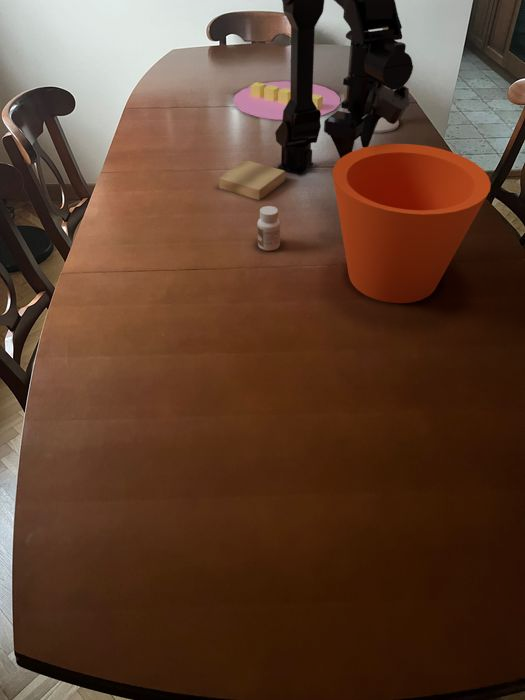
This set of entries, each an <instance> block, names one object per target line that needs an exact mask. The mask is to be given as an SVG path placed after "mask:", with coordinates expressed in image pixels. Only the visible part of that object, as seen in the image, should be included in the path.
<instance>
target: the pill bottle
mask: <svg viewBox="0 0 525 700" xmlns="http://www.w3.org/2000/svg"><path fill="white" fill-rule="evenodd" d="M280 245H281V221H280V219H279V210H278V208H277V207H275V206H272V205H266V206H262V207H261V208H260V209H259V218H258V219H257V246H258V248H259V249H261V250H263V251H267V252H268V251H275V250H277V249H279V248H280Z"/></svg>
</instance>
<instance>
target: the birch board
mask: <svg viewBox="0 0 525 700" xmlns="http://www.w3.org/2000/svg"><path fill="white" fill-rule="evenodd" d="M285 181H286V171H285V170H281V169H278V167H272V166H269V165H266V164H262V163H258V162H254V161H250V160H247V159H244V160H243V161H241V162H240V163H238V164H237V165H235V166H234V167H232V168H231V169H229V170H228V171H226V172H225V173H224V174H222V175H221V176H219V177H218V189H221V190H224V191H228V192H231V193H235V194H238V195H241V196H243V197H247V198H250V199H253V200H257V201H261V200H262V199H263V198H264V197H266V196H267V195H268V194H270V193H272V191H274V190H275V189H276V188H278V187H279V186H280V185H281V184H283V183H284V182H285Z"/></svg>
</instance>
